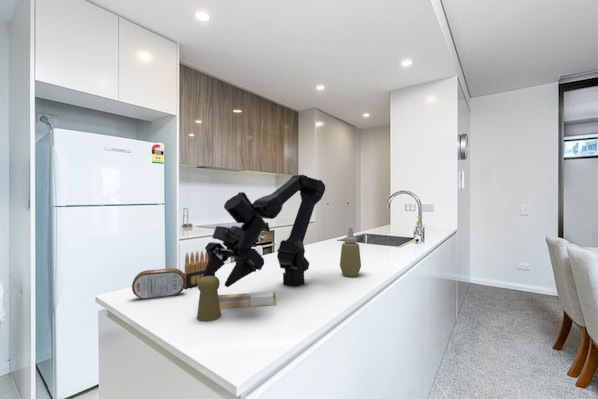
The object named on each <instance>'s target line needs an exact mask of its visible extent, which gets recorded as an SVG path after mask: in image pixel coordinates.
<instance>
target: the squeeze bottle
mask: <svg viewBox="0 0 598 399" xmlns="http://www.w3.org/2000/svg"><path fill="white" fill-rule="evenodd" d="M343 239H344V240H343V243H342V244H341V248H340V250H341V251H340V259H339V260H340V261H339V266H340V270H341V273H342V275H343V276H345V277H350V278H351V277H352V278H353V277H357V276H359V274H360V271H361V268H362V262H361V260H362V259H361V252H360V251H361V249H360V244H358V241H357V240H358V239H357V237H355V236H354V231H353V228H352V227H348V231H347V236H345V237H344V238H343Z"/></svg>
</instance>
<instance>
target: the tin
mask: <svg viewBox="0 0 598 399" xmlns="http://www.w3.org/2000/svg"><path fill="white" fill-rule="evenodd" d="M184 273H185V272H183V271H182V270H181V269H179V268H175V267H174V268H161V269H148V270H143V271H140V272H138V274H137V275H135V277H134V278H133V281H132V285H131V290H132V292H133V295H135V296H136V298H139V299H140V300H141V299H142V300H152V299H161V298H169V297H175V296H178V295H179V294H181V293H182V292H183V291H184V289H185V288H184V287H185V284H186V276H185V274H184Z"/></svg>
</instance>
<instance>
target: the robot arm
mask: <svg viewBox="0 0 598 399" xmlns="http://www.w3.org/2000/svg"><path fill="white" fill-rule="evenodd" d="M298 192H299V195H300V199H301V201H300V205H299V208H298V210H297V213H296V216H295V219H294V221H293V224H292V228H291V231H290V232H289V233H290V234H289V236H288V238H287V239H286V240H285V239H282V240H281V241H280V242H279V247H278V248H277V250H276V252H277V255H276V256H277V261H278V264H279V268H280V269H283V270H284V272H282V284H283V287H284V286H285V287H301V286H305V272H306V271H307V270H309V268H310V262H309V260H308V259H307V258H306V257H305V253H306V250H305V249H306V248H305V245H304V240H305V237H306V233H307V230H308V228H309V226H310V225H309V224H310V221H311V218H312V215H313V212H314V209H315V207H316V205H317V203H319V202H320V201H321V200H322V199H323V196H324V194H325V192H326V185H325V183H324V182H323V180H322V179H316V178H313V177H309V176H307V175H304V174H296V175H295V174H294V175H293V176H291V177H290V179H289V180H287V181H286V182H285V183H283V184H282V185H281V186H280V187H278V188H277V189H276V190H275V191H273V192H272V193H270V194H268V195H264V196H262V197H259V198H257V199H256V200H254V201H253V203H252V202H251V200H250V199H249V198H248V195H247V194H246V193H245V192H243V191H241V192H238V193H237V194H236V195H234V196H232V197H231V198H229V199H227V200H226V202H225V203H224V205H223V209H224V210H226V212H227V213H228V214H229V215H230V216H231V218H232V219H233V220H234V221H235V222H236V223H237V224H241V223H242V225H241V226H237V225H233V226H231V227H226V226H218V225H217V226H215V229H214V232H213V235H212V239H214V240H218V241H221V242H222V243H220V242H213V241H211V242H208V243H207V245H206V246H205V247H204V249H205V253H207V254H208V258H209V259H208V263H207V266H206V269H205V272H204V275H203V277H205V276H212V275H213V274H214V273H215V274H216V273H217V271H219V270H220V269H221V268H222V267H223V266H224V265H225V264H226V263H225V262H226V261H228V260H229V258H231V259H235V264H234V267H233V268H232V270H231V272H230V273H229V275H228V277H227V279H226V281H225V282H224V286H225V288H229V287H230V286H232V285H234V284H235V283H237V282H238V281H240V280H241V279H244V278H245V277H247V276H249V275H250V274H252V273H256V272H257V270H258V271H261V270H262V268H263V267H264V265H265V259H264V257H263V256H262V255H261V254H260V253H259V252H258V251H257V249H256V247H257V246H258V243H257V242H256V241H257V240H258V239H259V237H260V235H261V234H262V232H265V233H269V232H270V231H271V229H270V226H269V222H266V221H265V220H264V219H267V220H269V219H270V220H274V219H276V218H277V217H278V215H279V214H280V213H281V211H282V209H283V206H284V204H285V203H286V202H287V201H288V200H290V199H291V198H292V197H293V196H294V195H296V193H298Z"/></svg>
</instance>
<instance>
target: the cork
mask: <svg viewBox="0 0 598 399" xmlns="http://www.w3.org/2000/svg"><path fill="white" fill-rule="evenodd" d="M220 285H221V283H220V279H219V278H218V277H217V276H216V275H215V276H205V277H202V278H200V279H199V281H198V284H197V286H198V287H197V289H198V291H199V296H198V297H199V298H198V305H197V314H196V320H197V321H199V322H202V323H204V322H205V323H209V322H214V321H216V320H219V319H220V318H221V317H222V313H221V312H222V311H221V309H220V304H219V297H218V295H219V293H218V290H219V289H220Z"/></svg>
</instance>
